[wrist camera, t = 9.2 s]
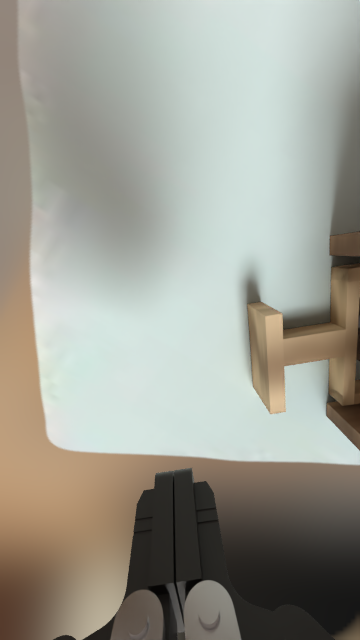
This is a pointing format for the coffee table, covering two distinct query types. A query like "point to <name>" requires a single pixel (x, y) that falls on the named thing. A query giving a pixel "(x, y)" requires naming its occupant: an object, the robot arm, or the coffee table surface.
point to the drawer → (308, 343)
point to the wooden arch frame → (350, 419)
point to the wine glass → (359, 338)
